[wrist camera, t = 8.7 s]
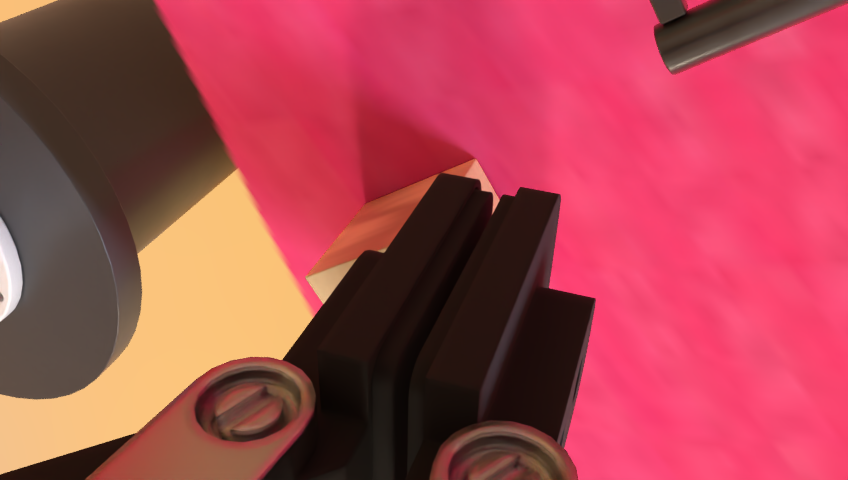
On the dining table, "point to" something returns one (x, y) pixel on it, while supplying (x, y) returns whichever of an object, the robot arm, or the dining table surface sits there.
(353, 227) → the block
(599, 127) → the dining table surface
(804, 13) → the drawer
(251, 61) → the dining table surface
